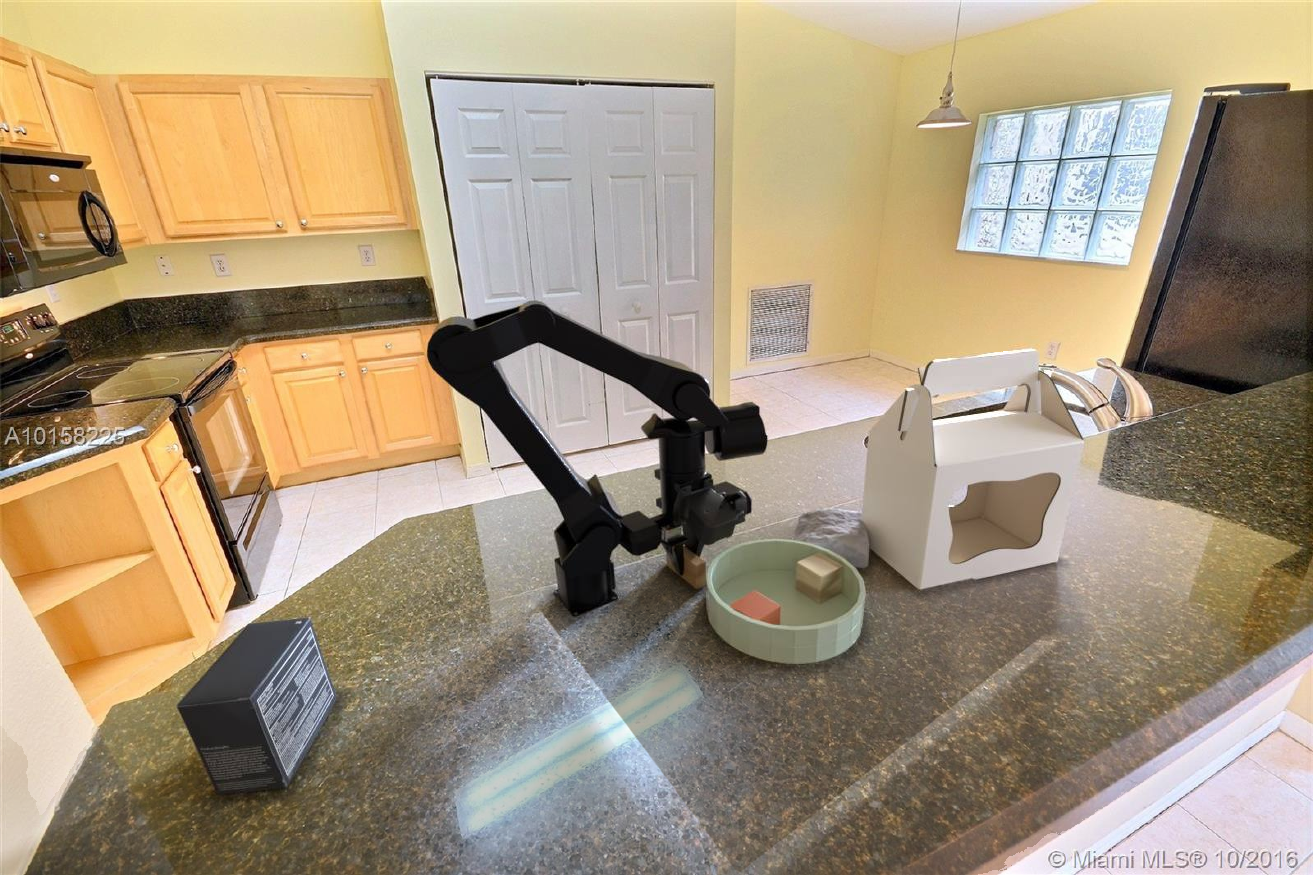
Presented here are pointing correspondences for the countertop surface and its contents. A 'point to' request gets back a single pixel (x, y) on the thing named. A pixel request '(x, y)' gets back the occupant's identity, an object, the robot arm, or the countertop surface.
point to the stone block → (836, 533)
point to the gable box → (972, 474)
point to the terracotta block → (758, 608)
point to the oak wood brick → (692, 568)
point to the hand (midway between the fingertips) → (685, 571)
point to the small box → (260, 706)
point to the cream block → (819, 577)
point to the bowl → (782, 603)
